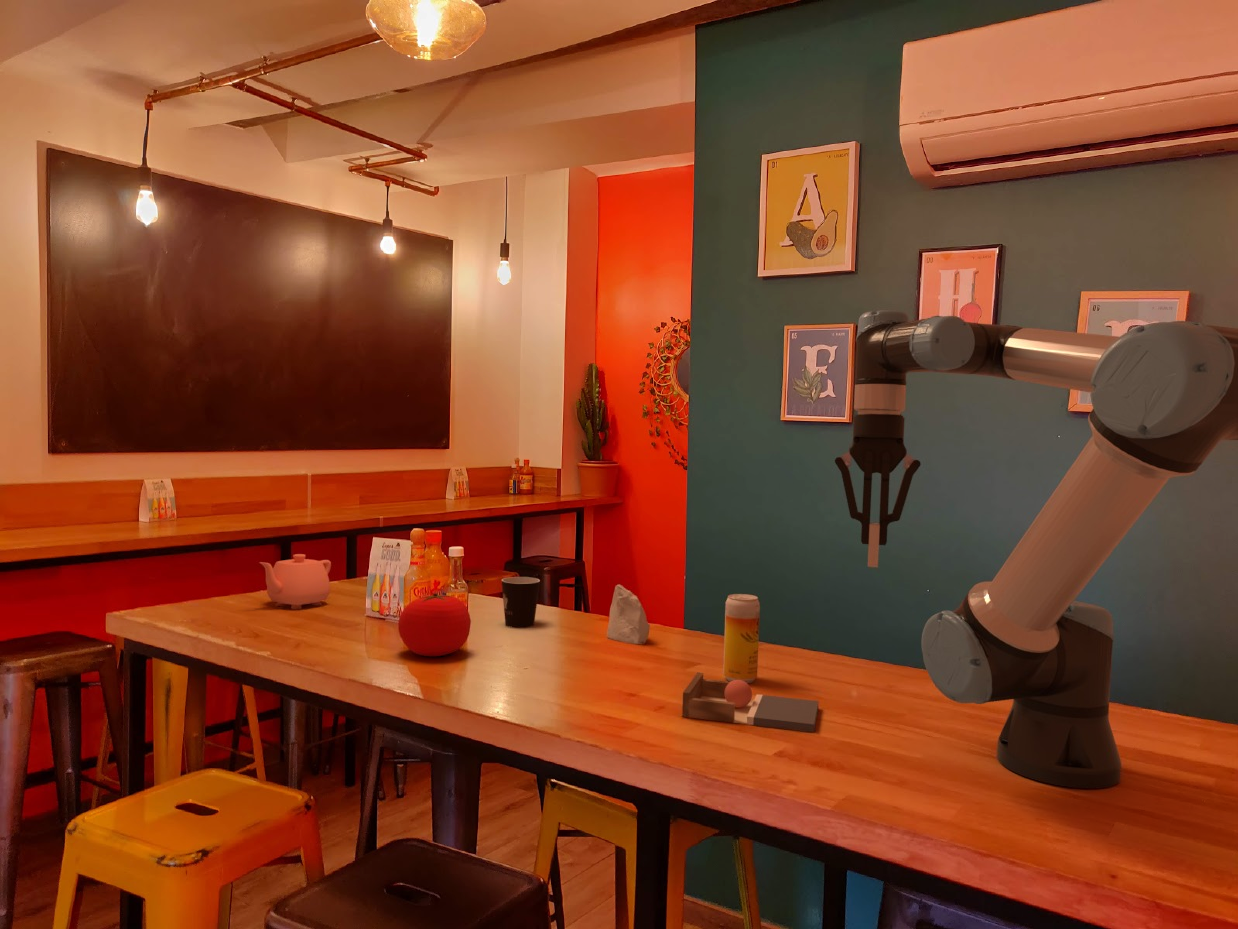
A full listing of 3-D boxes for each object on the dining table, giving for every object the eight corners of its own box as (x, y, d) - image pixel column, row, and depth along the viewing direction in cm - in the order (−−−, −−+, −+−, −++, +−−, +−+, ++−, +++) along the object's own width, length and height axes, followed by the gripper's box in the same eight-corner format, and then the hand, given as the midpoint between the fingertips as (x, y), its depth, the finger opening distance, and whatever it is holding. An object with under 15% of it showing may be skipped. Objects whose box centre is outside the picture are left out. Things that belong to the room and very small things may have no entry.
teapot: (241, 608, 205) (241, 556, 204) (312, 595, 222) (313, 548, 221) (277, 616, 198) (278, 562, 197) (348, 602, 214) (348, 553, 214)
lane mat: (818, 708, 142) (818, 701, 142) (813, 732, 130) (814, 724, 130) (696, 694, 147) (697, 687, 147) (682, 716, 136) (682, 709, 136)
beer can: (756, 685, 154) (759, 601, 153) (721, 682, 155) (724, 598, 155) (757, 676, 160) (760, 594, 159) (724, 673, 161) (727, 592, 160)
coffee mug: (536, 629, 192) (538, 584, 191) (497, 628, 192) (498, 583, 191) (542, 618, 203) (543, 575, 203) (505, 617, 203) (506, 574, 203)
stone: (651, 643, 183) (653, 588, 182) (632, 646, 179) (635, 590, 179) (619, 633, 190) (621, 580, 190) (601, 636, 187) (603, 582, 187)
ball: (720, 708, 141) (747, 715, 140) (723, 696, 138) (750, 704, 137) (726, 684, 144) (752, 691, 143) (728, 672, 141) (755, 679, 140)
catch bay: (744, 700, 145) (744, 677, 145) (733, 722, 134) (734, 698, 134) (696, 694, 147) (697, 672, 147) (682, 716, 136) (682, 692, 136)
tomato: (449, 665, 161) (450, 602, 160) (385, 657, 165) (386, 596, 165) (482, 649, 173) (483, 591, 173) (421, 642, 177) (423, 585, 177)
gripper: (922, 415, 136) (915, 565, 137) (836, 413, 140) (830, 559, 141) (925, 413, 129) (918, 572, 130) (834, 411, 133) (828, 566, 133)
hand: (872, 565), depth 135 cm, fingers closed
